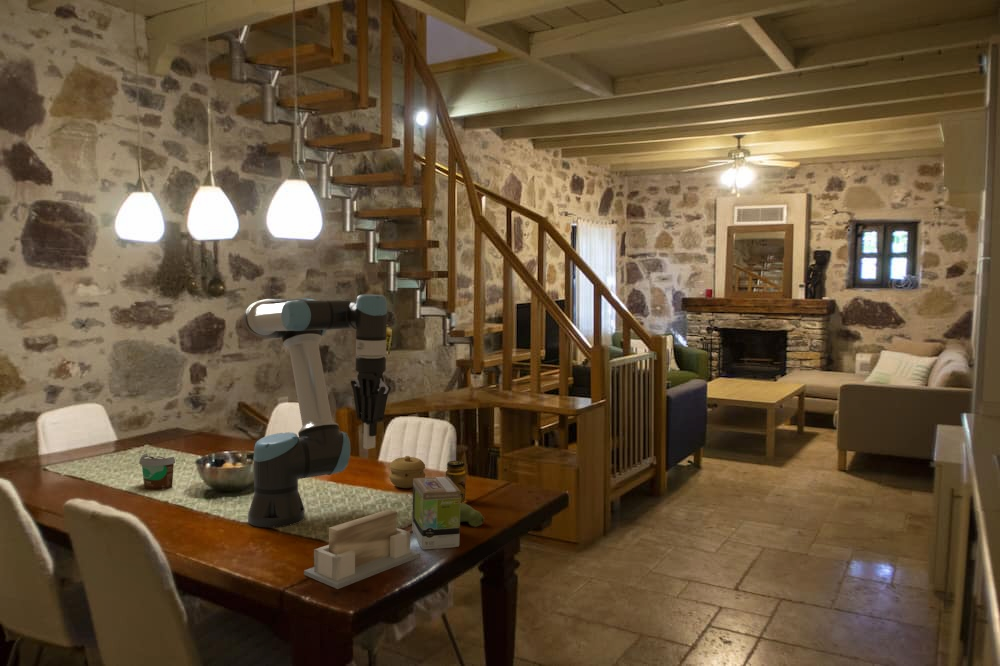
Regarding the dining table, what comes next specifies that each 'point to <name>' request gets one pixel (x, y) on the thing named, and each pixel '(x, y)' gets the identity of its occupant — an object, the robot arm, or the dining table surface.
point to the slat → (364, 536)
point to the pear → (470, 515)
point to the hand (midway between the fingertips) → (369, 447)
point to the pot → (406, 471)
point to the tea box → (436, 512)
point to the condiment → (457, 476)
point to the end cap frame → (343, 570)
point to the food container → (157, 472)
